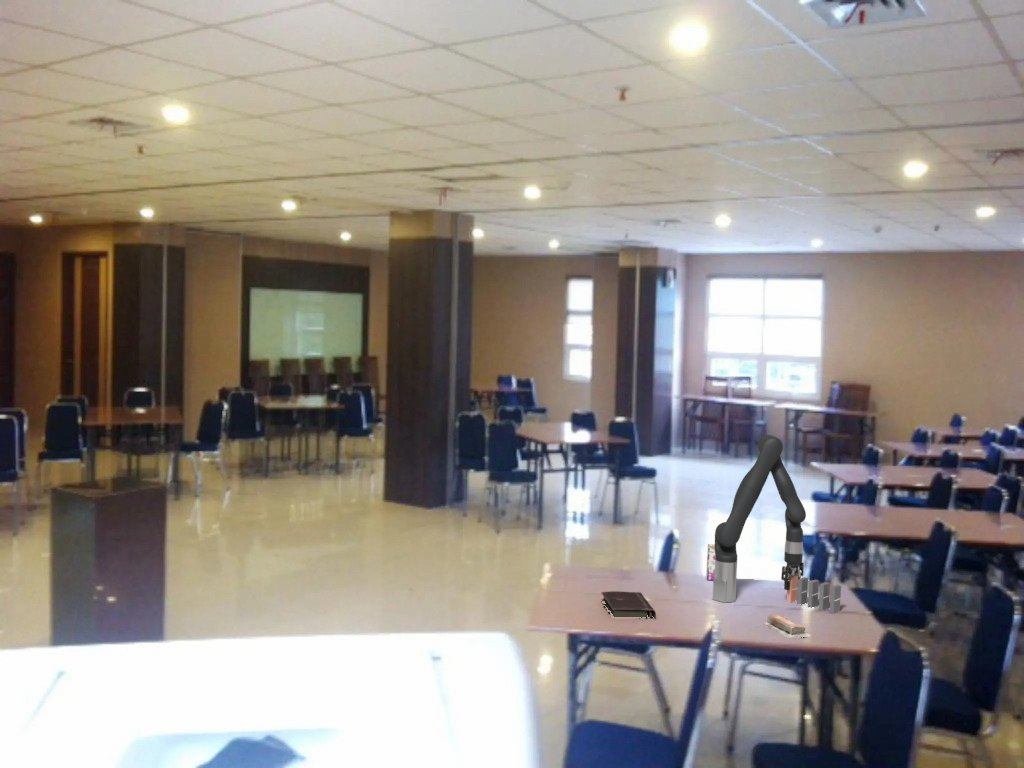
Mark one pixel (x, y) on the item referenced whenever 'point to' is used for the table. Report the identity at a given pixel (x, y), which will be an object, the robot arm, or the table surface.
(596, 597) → the table surface
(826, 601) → the domino
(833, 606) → the domino
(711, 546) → the candy bar box
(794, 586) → the domino
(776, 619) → the packaged product
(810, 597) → the domino
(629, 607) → the diary
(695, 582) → the table surface
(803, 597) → the domino
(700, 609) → the table surface
